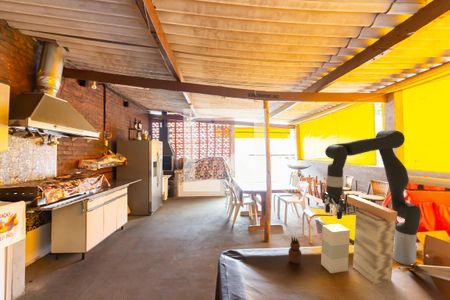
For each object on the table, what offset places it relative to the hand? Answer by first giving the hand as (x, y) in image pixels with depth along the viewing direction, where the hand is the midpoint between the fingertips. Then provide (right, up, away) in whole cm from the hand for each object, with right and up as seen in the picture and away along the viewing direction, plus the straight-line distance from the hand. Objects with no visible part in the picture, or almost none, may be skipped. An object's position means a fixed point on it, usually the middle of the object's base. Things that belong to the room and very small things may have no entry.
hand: (333, 215), depth 114 cm
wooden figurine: (-17, -29, +10) cm, 35 cm away
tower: (+3, -29, +5) cm, 30 cm away
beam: (+18, +3, 0) cm, 19 cm away
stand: (+19, -30, 0) cm, 35 cm away
